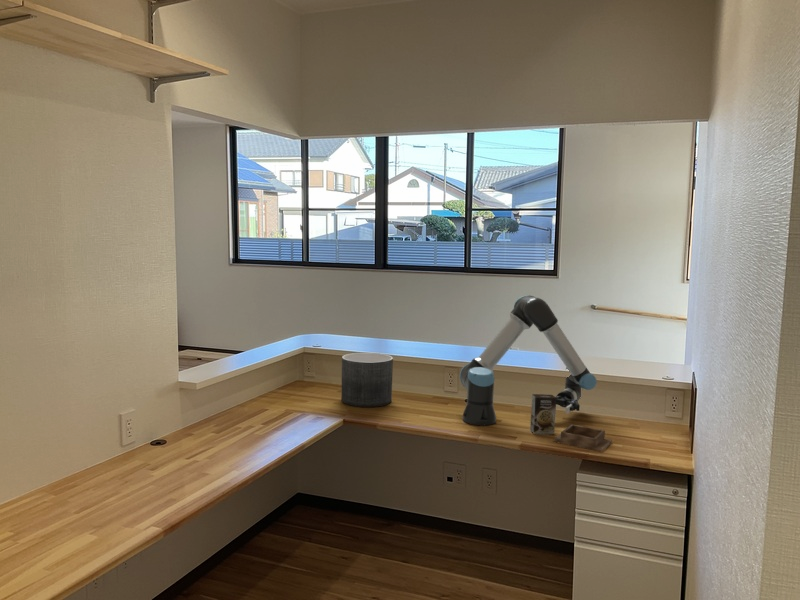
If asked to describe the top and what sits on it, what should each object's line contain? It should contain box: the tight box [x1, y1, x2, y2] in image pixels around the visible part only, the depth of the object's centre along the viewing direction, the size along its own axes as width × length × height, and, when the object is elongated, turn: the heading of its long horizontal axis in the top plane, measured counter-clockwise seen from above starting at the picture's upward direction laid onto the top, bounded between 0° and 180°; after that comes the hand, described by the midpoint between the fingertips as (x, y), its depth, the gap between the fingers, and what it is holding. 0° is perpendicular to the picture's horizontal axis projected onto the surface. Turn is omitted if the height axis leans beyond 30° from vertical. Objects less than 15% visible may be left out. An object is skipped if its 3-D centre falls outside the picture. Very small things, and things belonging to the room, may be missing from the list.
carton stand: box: [552, 424, 613, 453], centre depth 249 cm, size 20×14×4 cm
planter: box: [340, 352, 394, 408], centre depth 302 cm, size 25×25×22 cm
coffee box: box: [529, 393, 557, 435], centre depth 260 cm, size 9×6×16 cm
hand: (551, 407), depth 267 cm, fingers open, 13 cm apart
